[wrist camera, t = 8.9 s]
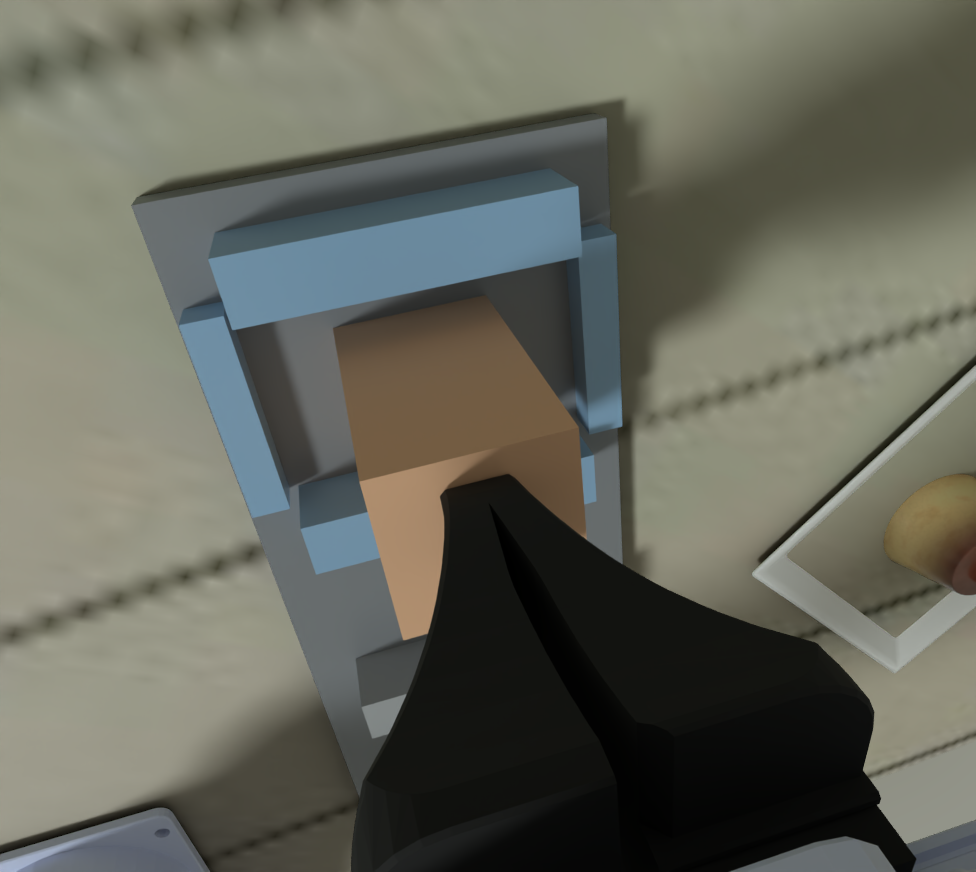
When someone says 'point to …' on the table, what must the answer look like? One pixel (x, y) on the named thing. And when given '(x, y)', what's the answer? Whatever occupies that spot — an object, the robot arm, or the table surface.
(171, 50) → the table surface
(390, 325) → the tan cardboard block
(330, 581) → the grey fixture plate
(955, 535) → the dessert
